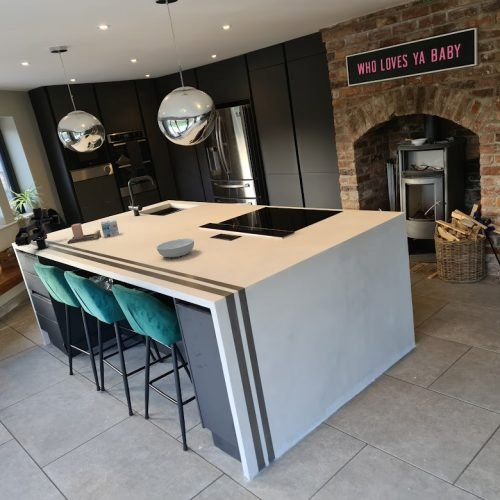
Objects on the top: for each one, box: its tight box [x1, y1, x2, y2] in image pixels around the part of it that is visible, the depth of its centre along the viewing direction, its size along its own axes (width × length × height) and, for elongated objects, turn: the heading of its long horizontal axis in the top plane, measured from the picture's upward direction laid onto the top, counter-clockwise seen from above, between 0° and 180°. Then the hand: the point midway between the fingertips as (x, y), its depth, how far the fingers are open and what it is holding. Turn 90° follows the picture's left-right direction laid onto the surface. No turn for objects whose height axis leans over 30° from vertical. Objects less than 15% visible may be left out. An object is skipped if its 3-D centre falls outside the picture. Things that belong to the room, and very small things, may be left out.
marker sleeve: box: [70, 222, 85, 239], centre depth 338 cm, size 6×5×10 cm
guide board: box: [66, 229, 102, 245], centre depth 340 cm, size 11×21×4 cm, turn 93°
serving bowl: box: [156, 238, 195, 259], centre depth 264 cm, size 21×21×7 cm
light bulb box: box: [100, 219, 120, 239], centre depth 339 cm, size 11×7×11 cm, turn 105°
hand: (51, 218), depth 352 cm, fingers open, 9 cm apart
